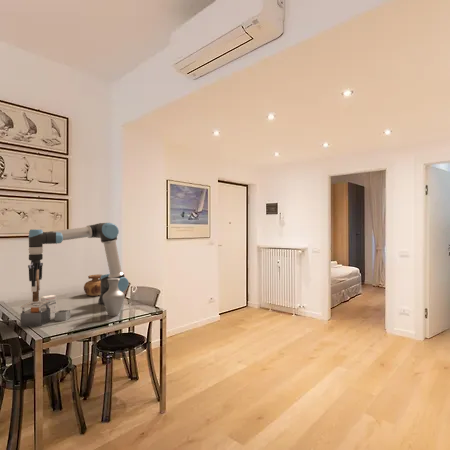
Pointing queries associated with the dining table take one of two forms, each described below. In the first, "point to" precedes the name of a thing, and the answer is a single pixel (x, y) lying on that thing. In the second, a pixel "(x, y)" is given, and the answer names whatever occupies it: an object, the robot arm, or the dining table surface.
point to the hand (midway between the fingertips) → (35, 290)
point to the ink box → (52, 302)
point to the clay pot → (93, 285)
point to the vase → (113, 297)
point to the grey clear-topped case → (35, 314)
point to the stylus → (36, 294)
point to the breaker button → (35, 309)
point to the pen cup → (62, 315)
